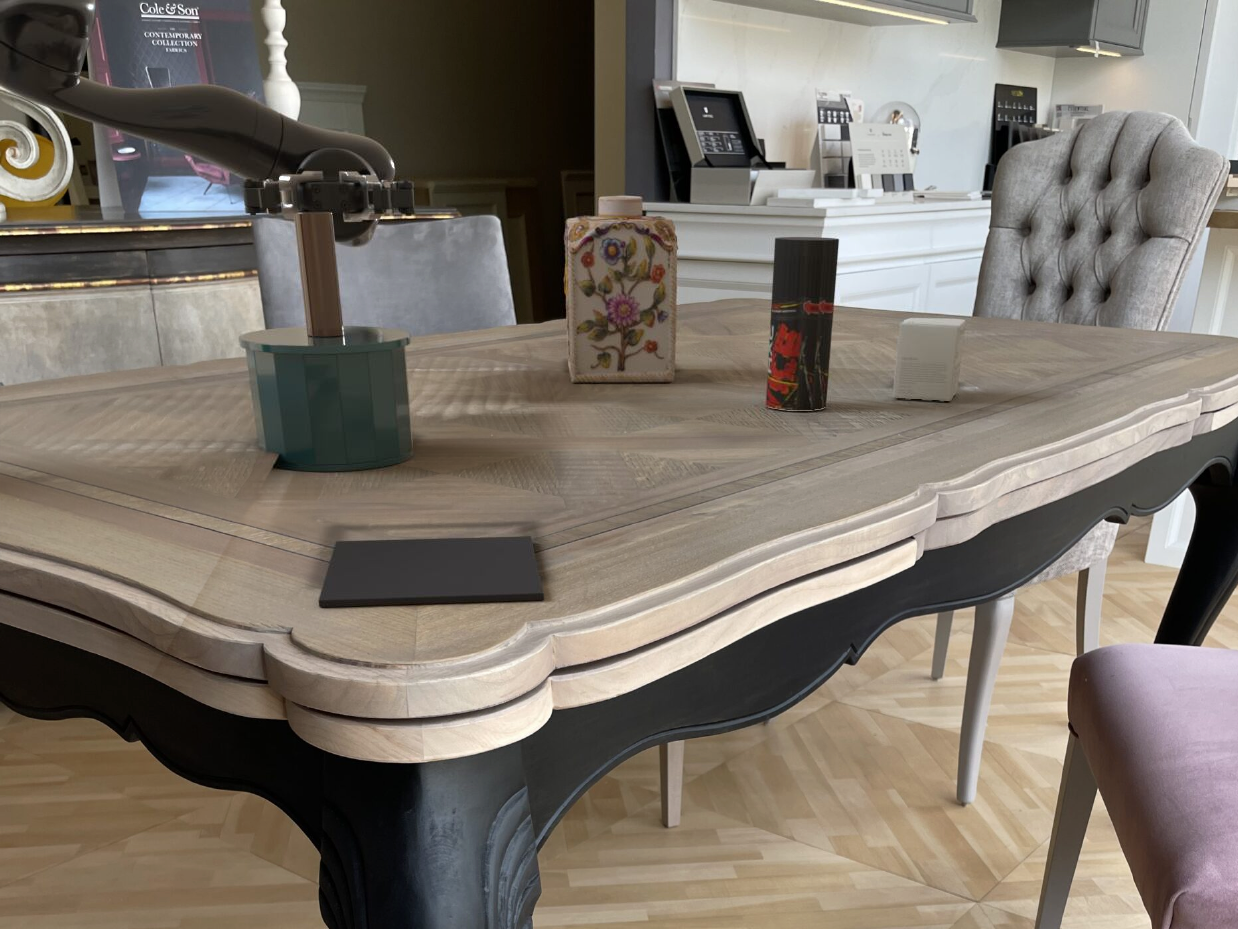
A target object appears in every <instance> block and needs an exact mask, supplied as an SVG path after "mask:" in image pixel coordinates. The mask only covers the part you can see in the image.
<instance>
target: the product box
mask: <svg viewBox="0 0 1238 929" xmlns="http://www.w3.org/2000/svg"><path fill="white" fill-rule="evenodd" d="M966 322H967V320H966V319H962V318H939V317H938V318H934V317H909V318H907V319H904V320H903V321H902V322H900V323H899V330H898V338H897V349H896V357H895V359H896V360H895V367H894V368H895V369H894V377H893V385H892V386H893V388H892V399H897V398H906V399H905V400H911V399H922V400H921V401H932V400H940V401H939V402H944V401H950V402H951V401H952V399H953V398H954V397H955V396H956V395H957V394H958V390H959V382H960V381H959V380H960V371H961V362H962V354H963V347H964V346H963V345H964V340H965V332H966V331H965V330H966V324H967V323H966ZM956 393H957V394H956ZM955 394H956V395H955ZM954 395H955V396H954ZM953 396H954V397H953Z"/></svg>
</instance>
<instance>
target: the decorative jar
mask: <svg viewBox="0 0 1238 929" xmlns="http://www.w3.org/2000/svg"><path fill="white" fill-rule="evenodd" d="M564 228H565V230H564V234H563V242H564V243H563V244H564V251H565V252H564V259H565V264H564V266H565V267H564V276H563V288H564V289H563V290H564V294H565V297H566V298H565V309H566V312H565V313H566V314H565V316H566V323H565V324H566V344H567V365H568V370H569V376H570V380H571V382H572V384H579V383H581V384H583V383H584V384H586V383H589V384H592V383H595V384H596V383H597V384H598V383H672V382H673V381H674V379H675V373H676V372H675V370H676V349H677V348H676V347H677V346H676V343H677V297H678V296H677V295H678V291H677V290H678V282H677V281H678V280H677V279H678V276H677V275H678V251H679V246H678V236H677V235H676V227H675V222H674V220H673V219H671V218H667V217H664V216H661V215H645V216H643V197H642V196H636V195H635V196H634V195H609V196H607V195H605V196H600V197H598V214H597V215H577V216H575V217H570V218H567V219H566V220H565V226H564Z"/></svg>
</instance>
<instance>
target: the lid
mask: <svg viewBox="0 0 1238 929" xmlns="http://www.w3.org/2000/svg"><path fill="white" fill-rule="evenodd" d="M293 221H294V228H295V238H296V247H297V257H298V266H299V275H300V283H301V285H300V286H301V293H302V302H303V310H304V320H305V326H289V327H279V328H269V329H261V330H259V329H258V330H255V331H249V332H245V333H243V334H240V335H239V336H238V343H239V347H240V348H242V349H245V350H246V349H247V350H252V351H258V352H266V353H279V354H350V353H365V352H376V351H384V350H391V349H396V348H401V347H404V346H405V347H407V346H409V345H410V344H411V343H412V336H411V333H410V332H408V331H406V330H402V329H397V328H390V327H389V328H388V327H380V326H379V327H378V326H362V325H360V326H359V325H344V320H343V319H344V318H343V310H342V301H341V300H342V299H341V289H340V278H339V268H338V260H337V258H338V257H337V247H336V242H335V236H334V226H333V216H332V212H294V219H293Z"/></svg>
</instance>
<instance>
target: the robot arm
mask: <svg viewBox="0 0 1238 929" xmlns="http://www.w3.org/2000/svg"><path fill="white" fill-rule="evenodd" d="M96 4H97V3H96V0H0V88H3V89H4V90H6V91H8V92H11V93H12V94H14V95H16V96H18V97H21V98H23V99H25V100H27V101H29V102H32V103H34V104H38V105H40V106H42V107H45V108H48V109H50V110H54V111H56V112H60V113H62V114H65V115H68V116H71V117H74V118H77V119H80V120H83V121H86V122H90V123H92V124H95V125H98V126H101V127H104V128H107V129H110V130H112V131H115V132H118V133H122V134H125V135H128V136H132V137H134V138H138V139H140V140H144V141H148V142H151V143H154V144H157V145H160V146H164V147H166V148H169V149H173V150H176V151H179V152H181V153H184V154H186V155H189V156H191V157H192V156H193V157H194V158H197V159H199V160H202V161H204V162H206V163H209V164H211V165H213V166H216V167H218V168H220V169H222V170H224V171H226V172H228V173H230V174H232V175H234V176H236V177H238V178H239V179H240V178H241V179H243V180H241V187H242V195H243V196H242V197H243V204H244V212H245V214H249V215H250V216H257V214H267V215H270V216H272V217H273V216H274V217H276V216H278V215H280V214H281V215H283V217H284V219H286V220H294V212H332V216H333V226H334V236H335V244H338V245H341V246H344V247H349V248H362V247H366V245H368V244H369V243H370V242H371V241H372V239H373V237H374V235H375V233H376V230H377V227H378V224H379V221H380V219H381V218H382V215H383V217H390V216H391V215H394V214H395V213H400V214H401V215H405V217H411V216H412V215H416V207H415V198H414V197H415V196H414V188H415V187H414V181H410V180H409V179H401V180H399V181H398V180H397V181H394V179H395V175H396V167H395V163H394V160H393V159H392V156H391V155H390V153H389V152H388V150H387V149H386V148H385V146H383V145H382V144H380V142H377V141H376V140H374V139H372V138H369V137H367V136H364V135H360V134H357V133H351V132H346V131H345V132H344V131H337V130H332V129H326V128H323V127H318V126H314V125H310V124H308V123H305V122H301V121H299V120H296V119H294V118H291V117H289V116H287V115H285V114H283V113H282V112H278V111H277V110H275V109H273V108H271V107H270V106H267V105H266V104H263V103H261V102H260V101H258V100H256V99H254V98H252V97H250V96H248V95H246V94H244V93H242V92H240V91H238V90H235V89H233V88H229V87H225V86H221V85H216V84H208V83H192V84H181V85H180V84H179V85H171V86H162V87H150V88H127V87H118V86H112V85H108V84H105V83H100V82H97V81H95V80H92V79H89V78H86V77H84V76H81V72H82V68H83V65H84V62H85V59H86V56H87V52H88V49H89V45H90V42H91V39H92V35H93V33H94V29H95V22H96V14H97V5H96Z"/></svg>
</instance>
